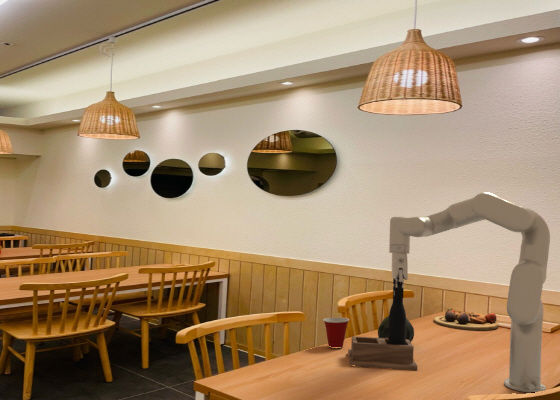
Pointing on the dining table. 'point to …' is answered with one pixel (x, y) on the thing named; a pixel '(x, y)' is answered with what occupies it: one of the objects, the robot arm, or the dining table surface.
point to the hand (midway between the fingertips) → (398, 297)
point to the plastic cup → (336, 331)
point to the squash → (385, 324)
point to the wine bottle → (397, 321)
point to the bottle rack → (381, 353)
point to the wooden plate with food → (467, 320)
